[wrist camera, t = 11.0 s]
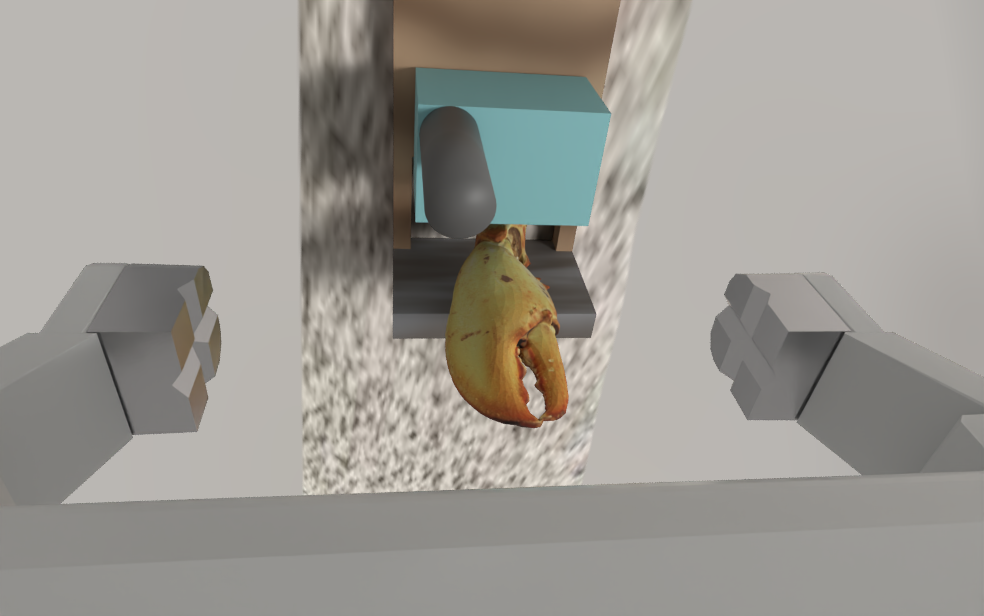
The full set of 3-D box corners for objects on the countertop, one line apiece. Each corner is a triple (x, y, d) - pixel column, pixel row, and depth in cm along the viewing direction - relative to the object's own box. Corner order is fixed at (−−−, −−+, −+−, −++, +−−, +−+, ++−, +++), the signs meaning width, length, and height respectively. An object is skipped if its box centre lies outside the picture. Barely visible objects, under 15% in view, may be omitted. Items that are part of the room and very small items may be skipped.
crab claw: (432, 228, 48) (448, 440, 32) (442, 163, 44) (466, 361, 29) (525, 238, 49) (584, 446, 33) (541, 176, 46) (614, 372, 30)
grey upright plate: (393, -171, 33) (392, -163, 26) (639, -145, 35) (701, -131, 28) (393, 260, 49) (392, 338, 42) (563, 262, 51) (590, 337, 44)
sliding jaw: (415, 67, 39) (422, 173, 28) (586, 77, 40) (657, 180, 29) (413, 175, 43) (418, 304, 32) (567, 180, 44) (624, 305, 33)
